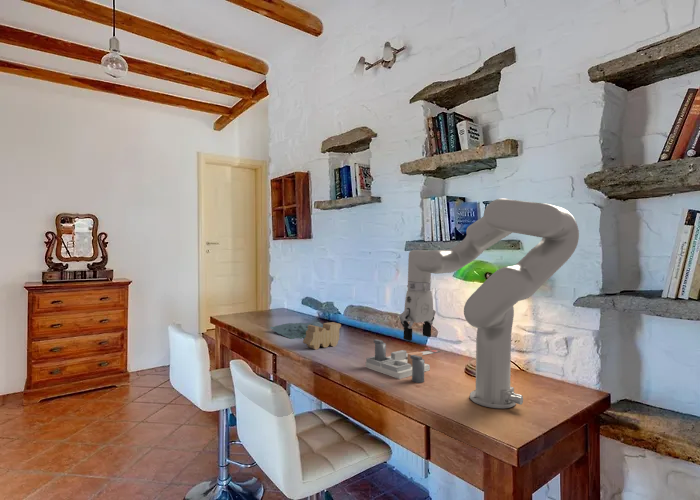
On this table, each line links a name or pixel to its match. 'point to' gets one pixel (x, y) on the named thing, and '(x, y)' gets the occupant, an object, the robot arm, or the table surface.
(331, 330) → the toy train
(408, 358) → the latch bar
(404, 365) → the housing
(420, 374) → the peg
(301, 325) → the terrain model
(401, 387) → the table surface
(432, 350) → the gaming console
